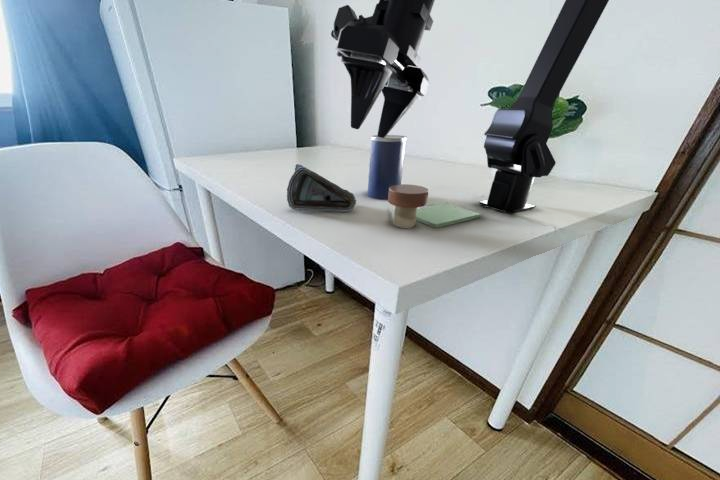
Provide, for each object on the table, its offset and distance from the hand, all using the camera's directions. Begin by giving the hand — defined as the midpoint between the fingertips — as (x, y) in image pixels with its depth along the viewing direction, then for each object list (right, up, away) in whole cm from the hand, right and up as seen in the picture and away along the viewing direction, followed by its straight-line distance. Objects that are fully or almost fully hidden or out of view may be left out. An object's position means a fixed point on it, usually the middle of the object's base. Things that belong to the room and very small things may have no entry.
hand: (368, 133), depth 44 cm
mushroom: (+6, -13, +3) cm, 14 cm away
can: (+6, -5, +18) cm, 20 cm away
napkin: (+13, -11, +6) cm, 18 cm away
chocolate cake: (-6, -8, +12) cm, 16 cm away
